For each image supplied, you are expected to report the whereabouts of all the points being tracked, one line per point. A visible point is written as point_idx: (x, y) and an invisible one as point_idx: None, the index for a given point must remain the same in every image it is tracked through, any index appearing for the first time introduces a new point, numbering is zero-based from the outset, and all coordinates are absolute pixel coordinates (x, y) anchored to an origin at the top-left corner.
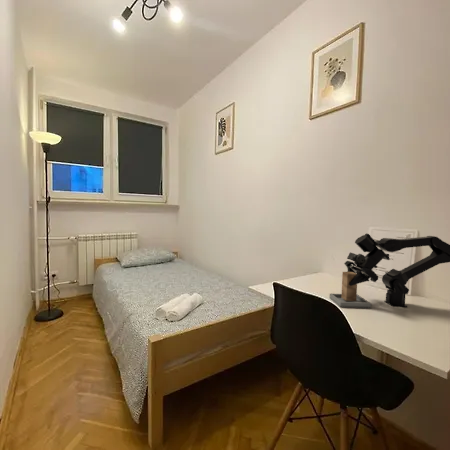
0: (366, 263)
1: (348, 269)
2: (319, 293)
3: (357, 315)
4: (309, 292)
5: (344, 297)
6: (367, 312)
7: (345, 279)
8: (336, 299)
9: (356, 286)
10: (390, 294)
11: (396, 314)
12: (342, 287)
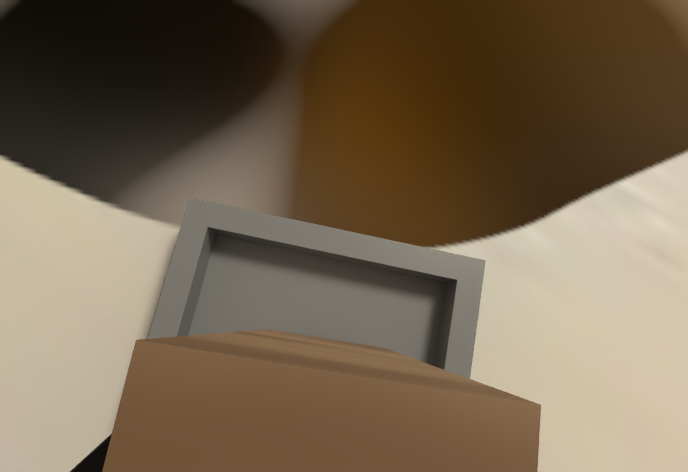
0: None
1: None
2: (623, 257)
3: (12, 254)
4: (651, 170)
5: (310, 336)
6: (44, 412)
7: (293, 348)
8: (291, 219)
9: None
10: None
11: None
12: (388, 354)
